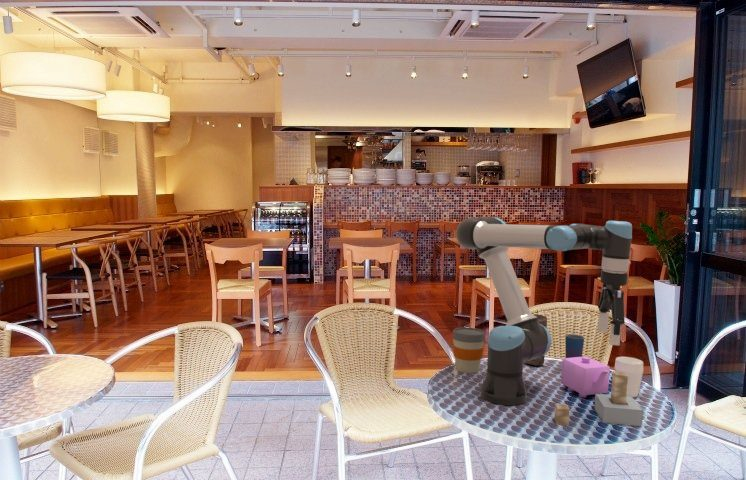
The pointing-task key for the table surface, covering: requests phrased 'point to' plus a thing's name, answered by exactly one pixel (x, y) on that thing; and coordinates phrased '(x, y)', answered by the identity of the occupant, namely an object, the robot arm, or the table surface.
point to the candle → (540, 360)
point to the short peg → (562, 414)
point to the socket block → (618, 411)
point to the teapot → (585, 376)
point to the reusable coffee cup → (468, 348)
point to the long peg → (619, 388)
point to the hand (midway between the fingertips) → (608, 338)
